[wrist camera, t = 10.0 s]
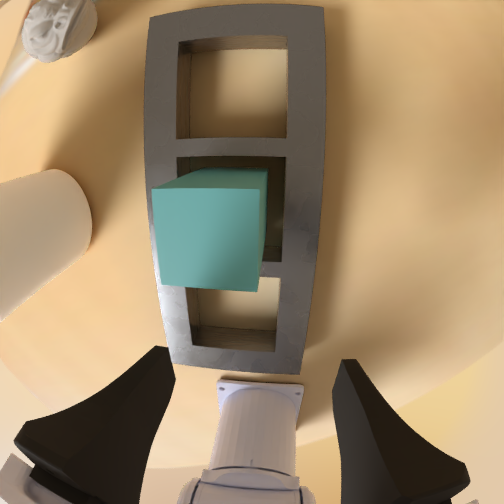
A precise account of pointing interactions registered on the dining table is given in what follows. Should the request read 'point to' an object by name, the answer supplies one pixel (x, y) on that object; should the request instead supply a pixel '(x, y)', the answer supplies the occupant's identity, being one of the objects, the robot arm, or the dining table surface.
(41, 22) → the grey lumpy piece
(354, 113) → the dining table surface
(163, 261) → the square peg
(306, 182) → the rail
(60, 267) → the beverage can
